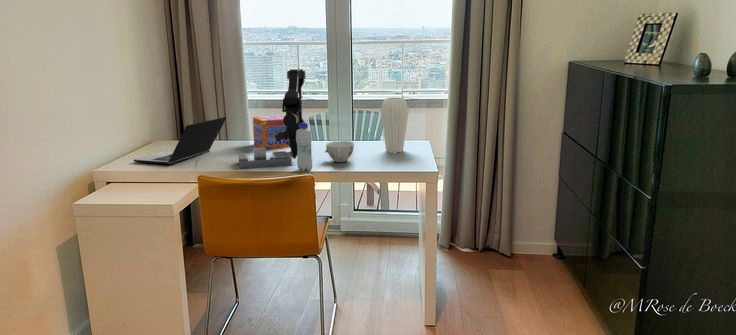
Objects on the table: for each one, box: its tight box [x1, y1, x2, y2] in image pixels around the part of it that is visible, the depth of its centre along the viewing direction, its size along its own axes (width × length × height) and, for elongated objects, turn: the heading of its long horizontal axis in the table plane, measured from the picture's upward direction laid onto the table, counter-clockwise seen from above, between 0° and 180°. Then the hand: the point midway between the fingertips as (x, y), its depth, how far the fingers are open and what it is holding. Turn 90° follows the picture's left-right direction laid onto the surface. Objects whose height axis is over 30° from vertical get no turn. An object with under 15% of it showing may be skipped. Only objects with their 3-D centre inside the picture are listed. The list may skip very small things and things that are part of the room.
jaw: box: [271, 150, 289, 159], centre depth 240 cm, size 6×11×4 cm, turn 16°
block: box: [252, 147, 267, 161], centre depth 238 cm, size 5×4×7 cm
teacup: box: [325, 141, 355, 163], centre depth 241 cm, size 15×12×8 cm
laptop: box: [133, 116, 227, 165], centre depth 252 cm, size 30×32×18 cm
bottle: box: [296, 122, 313, 172], centre depth 224 cm, size 7×7×20 cm
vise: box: [237, 153, 293, 169], centre depth 238 cm, size 23×14×4 cm, turn 106°
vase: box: [380, 96, 409, 154], centre depth 259 cm, size 13×13×26 cm
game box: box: [252, 115, 290, 151], centre depth 276 cm, size 16×16×16 cm
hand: (294, 158), depth 242 cm, fingers closed
